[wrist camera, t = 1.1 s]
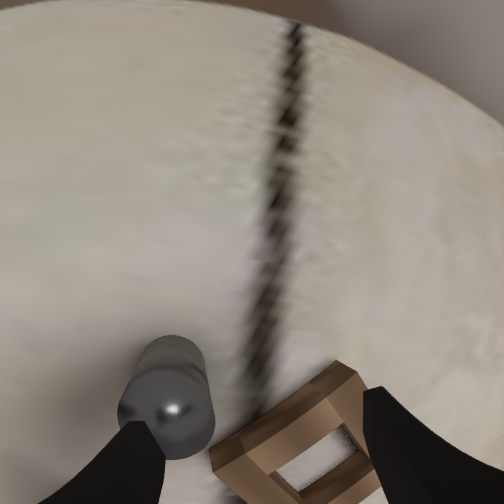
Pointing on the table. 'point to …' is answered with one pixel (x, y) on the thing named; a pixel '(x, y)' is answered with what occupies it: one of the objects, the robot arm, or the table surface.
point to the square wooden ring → (301, 445)
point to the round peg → (171, 397)
